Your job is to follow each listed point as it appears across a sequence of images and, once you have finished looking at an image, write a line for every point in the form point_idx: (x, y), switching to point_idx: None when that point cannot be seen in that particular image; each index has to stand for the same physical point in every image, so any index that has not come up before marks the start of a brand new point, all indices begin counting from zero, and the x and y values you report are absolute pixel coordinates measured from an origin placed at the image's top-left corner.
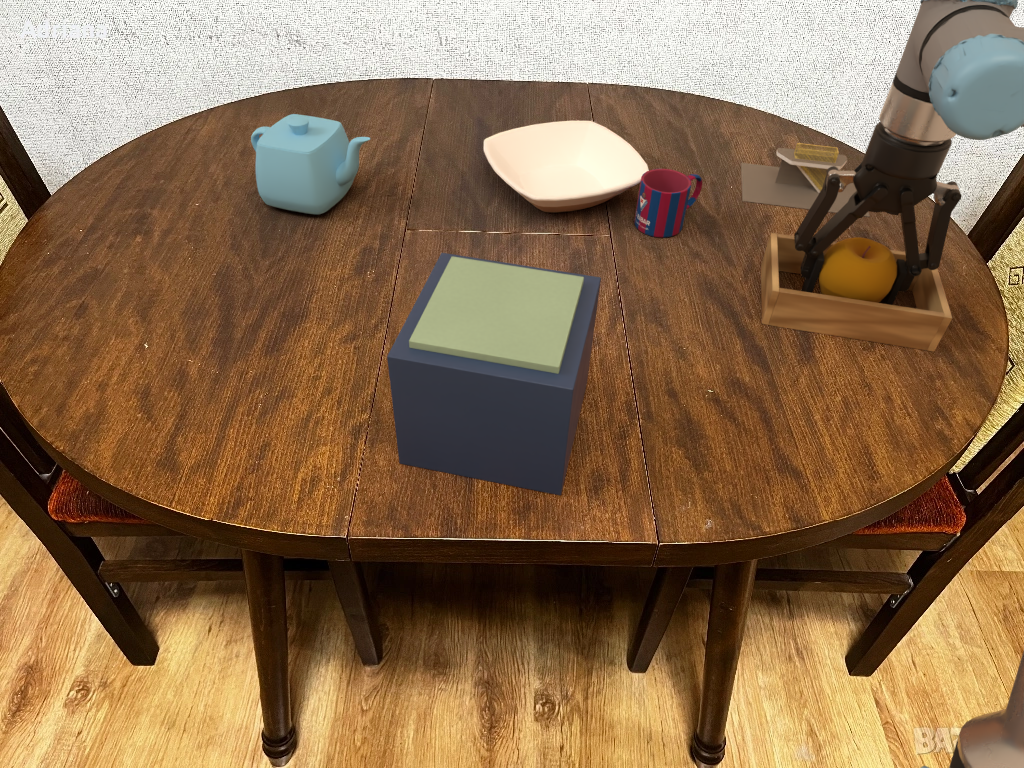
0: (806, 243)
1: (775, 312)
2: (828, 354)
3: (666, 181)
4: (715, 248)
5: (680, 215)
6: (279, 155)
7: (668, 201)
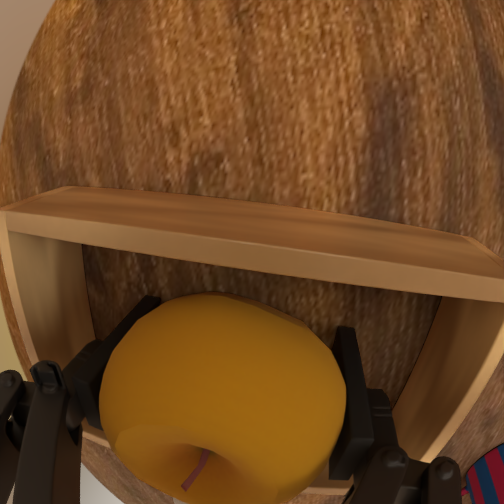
0: (432, 486)
1: (475, 248)
2: (326, 120)
3: None
4: (449, 445)
5: (498, 478)
6: None
7: None
